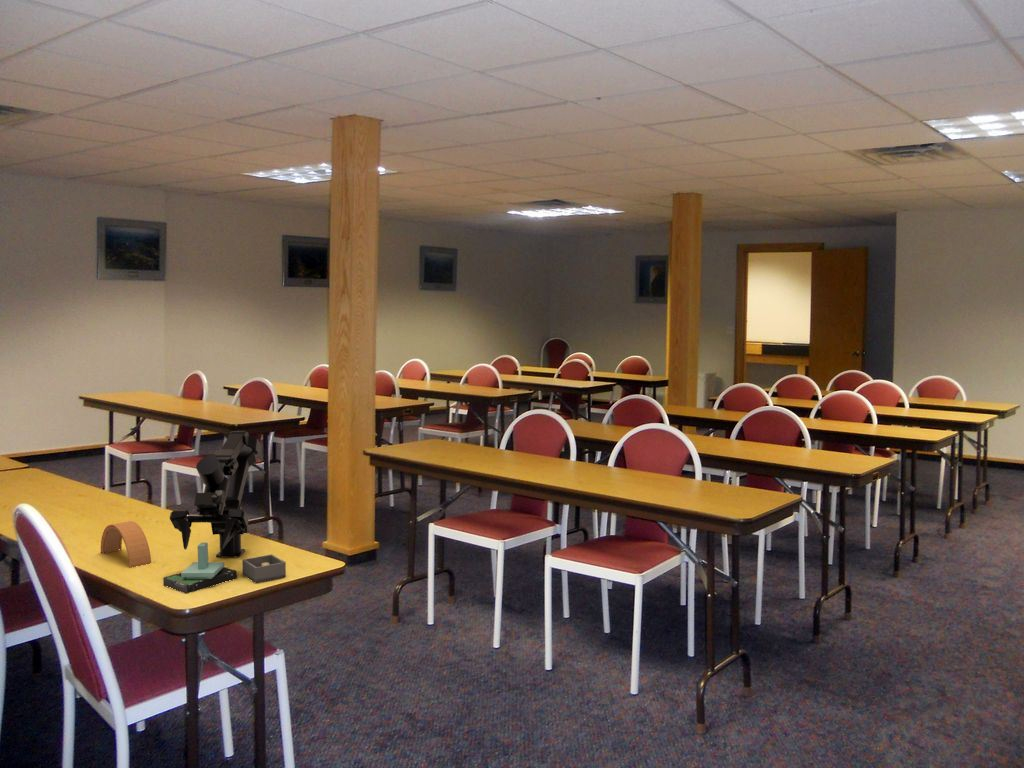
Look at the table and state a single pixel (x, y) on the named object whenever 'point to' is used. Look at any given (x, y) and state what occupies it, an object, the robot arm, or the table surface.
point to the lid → (202, 565)
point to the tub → (264, 568)
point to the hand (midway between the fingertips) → (203, 548)
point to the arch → (127, 542)
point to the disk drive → (198, 581)
